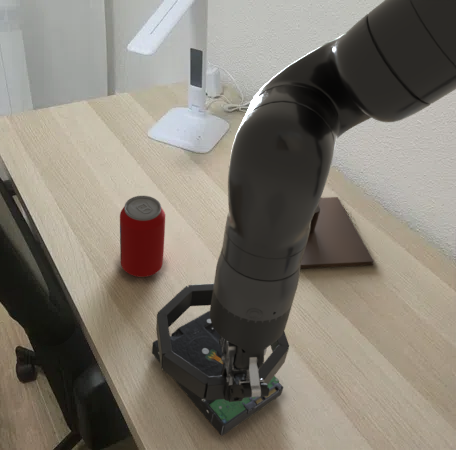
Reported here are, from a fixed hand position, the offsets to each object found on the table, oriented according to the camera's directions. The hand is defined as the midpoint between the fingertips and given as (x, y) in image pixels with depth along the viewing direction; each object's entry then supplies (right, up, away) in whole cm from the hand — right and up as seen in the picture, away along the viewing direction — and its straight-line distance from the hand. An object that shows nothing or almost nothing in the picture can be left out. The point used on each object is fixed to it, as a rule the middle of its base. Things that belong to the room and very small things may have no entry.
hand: (231, 390), depth 63 cm
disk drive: (-1, -1, +10) cm, 10 cm away
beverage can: (-11, +12, +25) cm, 30 cm away
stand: (+17, +18, +32) cm, 41 cm away
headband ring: (-1, +4, +6) cm, 7 cm away
